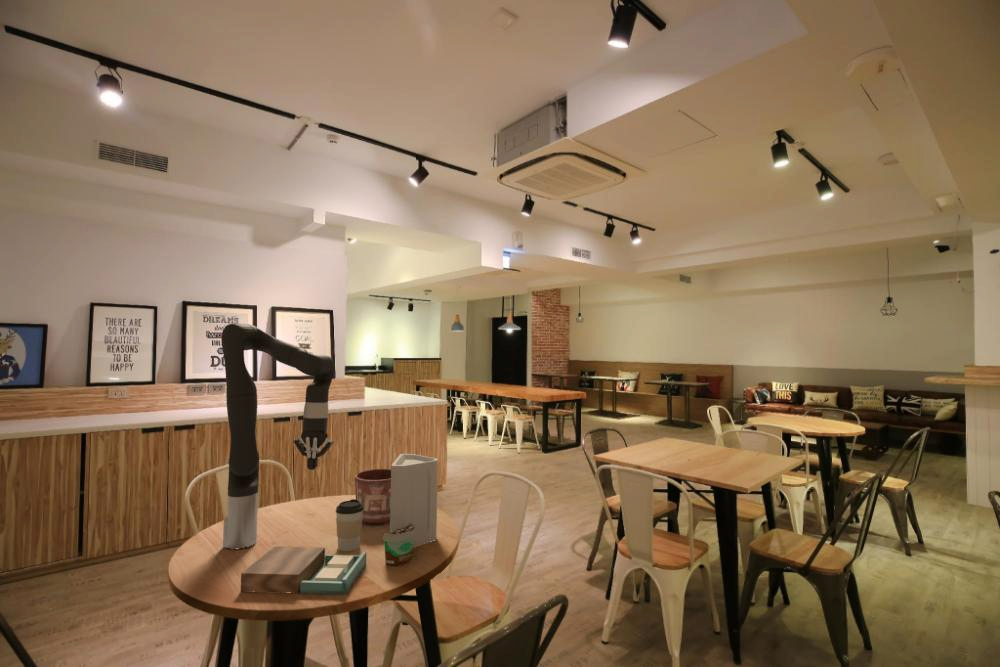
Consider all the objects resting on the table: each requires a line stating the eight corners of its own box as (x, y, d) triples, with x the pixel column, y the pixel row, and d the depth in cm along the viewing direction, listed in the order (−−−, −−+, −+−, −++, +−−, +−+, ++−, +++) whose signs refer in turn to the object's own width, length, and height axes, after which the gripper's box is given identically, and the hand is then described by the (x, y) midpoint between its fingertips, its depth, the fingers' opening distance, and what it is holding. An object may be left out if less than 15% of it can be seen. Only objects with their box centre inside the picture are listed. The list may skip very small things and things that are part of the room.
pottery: (347, 517, 187) (348, 472, 188) (388, 509, 198) (389, 466, 198) (362, 532, 173) (364, 482, 174) (406, 522, 183) (408, 476, 184)
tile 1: (336, 578, 130) (335, 587, 130) (343, 568, 136) (343, 577, 136) (314, 577, 130) (314, 586, 130) (323, 567, 136) (323, 576, 136)
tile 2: (347, 564, 139) (347, 572, 139) (354, 555, 145) (353, 563, 145) (327, 563, 139) (327, 572, 139) (334, 555, 145) (334, 563, 145)
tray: (300, 593, 128) (300, 578, 128) (326, 564, 146) (326, 550, 146) (345, 594, 128) (345, 579, 128) (366, 565, 146) (366, 551, 146)
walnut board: (240, 591, 129) (241, 573, 129) (273, 562, 147) (274, 546, 147) (298, 593, 128) (298, 574, 128) (324, 564, 146) (325, 547, 146)
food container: (396, 571, 142) (397, 538, 142) (382, 566, 145) (382, 533, 145) (423, 557, 152) (424, 525, 153) (409, 552, 155) (410, 521, 156)
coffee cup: (354, 553, 154) (355, 507, 154) (329, 551, 156) (330, 505, 156) (367, 543, 163) (368, 499, 163) (343, 540, 164) (344, 497, 165)
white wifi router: (433, 550, 157) (435, 466, 159) (388, 550, 157) (390, 465, 158) (438, 529, 176) (440, 453, 178) (398, 529, 176) (400, 453, 177)
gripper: (290, 416, 151) (286, 470, 150) (330, 418, 150) (326, 473, 149) (301, 413, 158) (297, 465, 157) (339, 415, 158) (336, 467, 157)
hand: (312, 469), depth 153 cm, fingers closed
